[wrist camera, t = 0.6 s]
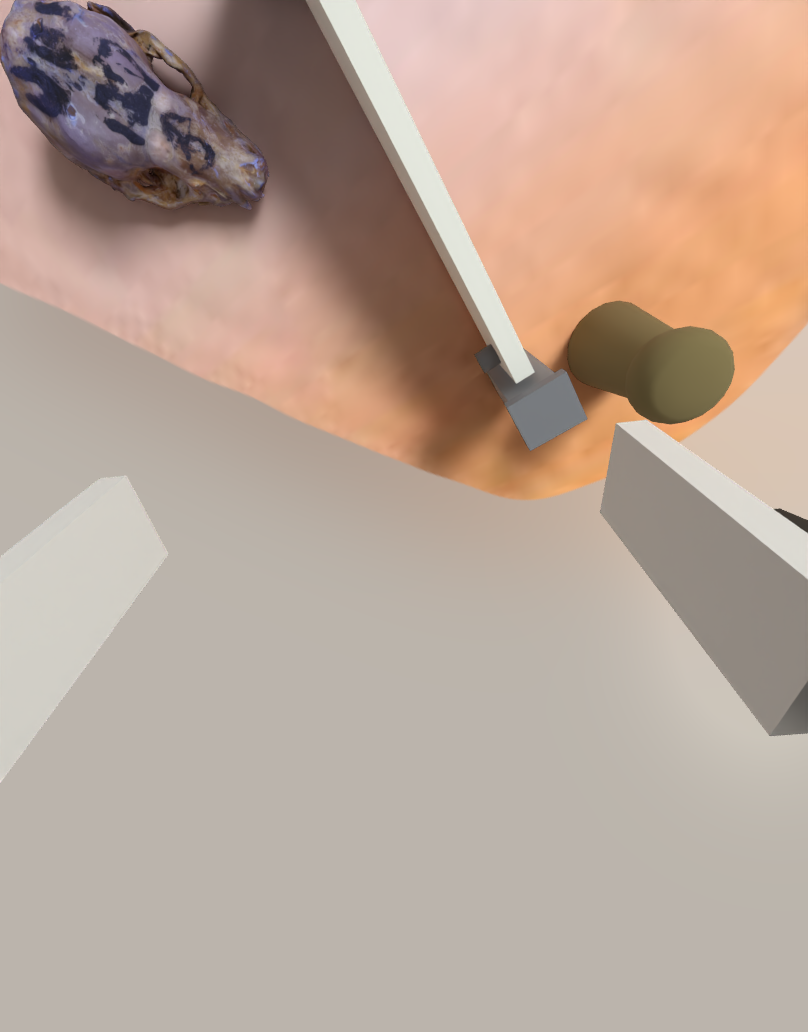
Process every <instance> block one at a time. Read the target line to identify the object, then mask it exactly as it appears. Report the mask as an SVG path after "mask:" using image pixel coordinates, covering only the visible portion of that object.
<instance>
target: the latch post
mask: <svg viewBox="0 0 808 1032" xmlns="http://www.w3.org/2000/svg"><path fill="white" fill-rule="evenodd" d="M523 349H524V348H523ZM524 351H525V353H526V355H527V357H528V359H529V361H530V363H531V365H532V368H533V370H534V373H533V374H531V375H530V376H528V377H526V378H525V379H523V380H522V381H520V382H518V383H517V384H516V383H515V382H514V380H513V379H512V378H511V377H510V376H509V375H508V374H507V373H506V371H505V370H504V369H503V368H502V367H501V366H500V365H497V366H496V367H494V368H493V369H491V370H490V371H488V372H487V374H488V376H489V378H490V379H491V381H492V383H493V385H494V387H495V389H496V390H497V392H498V394H499V396H500V398H501V399H502V400H503V402H504V404H505V406H506V408H507V410H508V412H509V414H510V416H511V417H512V419H513V421H514V423H515V425H516V427H517V428H518V430H519V432H520V434H521V436H522V438H523V439H524V441H525V443H526V445H527V447H528V448H529V450H530V451H531V450H533V449H535V448H537V447H538V446H540V445H542V444H544V443H546V442H547V441H549V440H551V439H553V438H555V437H556V436H558V435H560V434H562V433H563V432H565V431H567V430H569V429H571V428H572V427H574V426H576V425H578V424H579V423H581V422H583V421H585V420H587V417H586V415H585V412H584V410H583V408H582V405H581V403H580V401H579V399H578V396H577V394H576V392H575V390H574V387H573V385H572V383H571V381H570V378H569V376H568V374H567V372H566V371H565V370H563V369H560V370H558V371H557V372H555V373H554V372H553V371H552V370H551V369H549V368H548V367H547V366H546V365H544V364H543V363H542V362H540V361H539V360H538V359H537V358H535V357H534V356H533V355H531V354H530V353H529V352H528V351H526V350H525V349H524Z"/></svg>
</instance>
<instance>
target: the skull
mask: <svg viewBox="0 0 808 1032" xmlns="http://www.w3.org/2000/svg"><path fill="white" fill-rule="evenodd" d="M87 6H88V9H85V8H84V7H82V6H80V5H78V4H77V3H74V2H71V1H53V0H15V1H14V3H13V5H12V8H11V11H10V13H9V14H8V16H7V17H6V19H5V21H4V24H3V27H2V30H1V33H0V61H1V64H2V66H3V69H4V71H5V73H6V75H7V77H8V79H9V81H10V83H11V86H12V89H13V92H14V94H15V97H16V99H17V102H18V105H19V106H20V108H21V109H22V110H23V112H24V113H25V114H26V115H27V116H28V117H29V118H30V120H31V121H32V122H33V123H34V124H35V125H36V126H37V127H38V128H39V129H40V130H41V132H42V133H43V134H44V135H45V136H46V138H47V139H48V140H49V141H50V143H51V144H52V145H53V146H54V147H55V148H56V149H58V150H59V151H60V152H61V153H62V154H63V155H64V156H65V157H67V158H68V159H69V160H70V161H72V162H73V163H75V164H76V165H78V166H80V167H81V168H83V169H87V170H88V171H89V172H90V173H91V174H92V175H93V176H94V177H96V178H97V179H99V180H101V181H103V182H104V183H106V184H108V185H110V186H112V188H113V189H114V191H115V189H116V190H118V191H120V192H121V193H123V194H124V195H125V196H126V197H127V198H128V199H129V200H131V201H134V200H144V201H147V202H150V203H152V204H155V205H157V206H160V207H162V208H165V209H169V210H172V209H179V208H182V207H184V206H185V205H187V204H189V203H199V205H212V204H213V205H217V206H220V207H222V206H225V205H228V204H229V205H230V204H231V202H233V203H236V204H239V205H240V206H241V207H244V208H246V209H249V210H251V208H252V206H251V204H250V203H249V202H248V201H247V200H254V201H258V200H259V199H260V198H262V197H264V196H265V195H264V194H262V192H263V189H264V187H265V184H266V181H267V175H268V177H269V171H268V166H267V163H266V161H265V159H264V157H263V155H262V153H261V151H260V150H259V148H258V147H257V146H256V145H255V144H253V143H252V142H251V141H250V140H249V139H248V138H247V137H246V136H245V135H243V134H242V133H241V132H240V131H239V130H238V129H237V127H236V126H235V124H234V123H233V122H232V121H231V120H230V119H229V118H227V117H225V116H224V115H223V114H222V113H221V112H220V111H219V110H218V109H217V107H216V105H215V104H213V103H212V102H211V101H210V100H209V99H208V98H207V96H206V94H205V92H204V90H203V88H202V86H201V83H200V82H199V81H198V80H197V78H196V76H195V75H194V73H193V72H192V70H191V69H190V68H189V67H188V66H187V65H186V64H185V63H184V62H183V61H182V60H181V59H180V58H179V57H178V56H177V55H176V54H174V53H173V52H172V51H171V50H169V49H168V48H167V47H166V46H164V45H163V44H162V43H161V42H160V41H159V40H158V39H157V38H156V37H155V36H154V35H153V34H151V33H150V32H148V31H145V30H137V31H135V30H134V29H133V28H132V26H131V25H129V24H128V23H127V22H126V21H125V20H123V19H122V18H121V17H120V16H119V15H118V14H117V13H116V12H115V11H114V10H112V9H111V8H109V7H107V6H103V5H99V4H96V3H93V2H90V1H88V2H87ZM153 57H155V58H158V59H163V60H164V62H165V63H166V64H167V65H169V66H170V67H172V68H174V69H176V70H177V71H178V72H180V73H182V74H183V75H184V77H185V78H186V79H187V80H188V81H189V83H190V84H191V86H192V90H191V96H190V98H188V97H187V96H186V95H183V94H180V93H177V92H174V91H172V90H170V89H168V88H167V87H166V86H165V85H164V84H163V83H162V82H161V81H160V79H159V78H158V77H157V76H156V75H155V73H154V71H153V67H152V64H151V63H152V60H153ZM150 170H152V173H149V171H150ZM138 180H142V181H143V182H145V183H147V184H151V185H150V186H147V187H145V186H143V185H141V183H139V182H138Z"/></svg>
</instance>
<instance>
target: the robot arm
mask: <svg viewBox="0 0 808 1032" xmlns="http://www.w3.org/2000/svg"><path fill="white" fill-rule="evenodd" d="M600 513H601V514H602V515H603V517H604V518H605V520H606V521H607V522H608V524H609V525H610V526H611V528H612V529H613V530H614V532H615V533H616V534H617V535H618V537H619V538H620V539H621V541H622V542H623V543H624V545H625V546H626V547H627V549H628V550H629V551H630V552H631V554H632V555H633V557H634V558H635V559H636V561H637V562H638V563H639V564H640V566H641V567H642V568H643V570H644V571H645V572H646V574H647V575H648V576H649V578H650V579H651V580H652V581H653V583H654V584H655V586H656V587H657V588H658V589H659V591H660V592H661V593H662V595H663V596H664V597H665V599H666V600H667V601H668V603H669V604H670V605H671V607H672V608H673V609H674V611H675V612H676V613H677V614H678V616H679V617H680V618H681V620H682V621H683V622H684V624H685V625H686V626H687V628H688V629H689V630H690V631H691V633H692V634H693V635H694V637H695V638H696V640H697V641H698V642H699V644H700V645H701V646H702V647H703V649H704V650H705V651H706V653H707V654H708V655H709V657H710V658H711V659H712V661H713V662H714V663H715V664H716V666H717V667H718V669H719V670H720V671H721V672H722V674H723V675H724V676H725V678H726V679H727V680H728V682H729V683H730V684H731V686H732V687H733V688H734V690H735V691H736V692H737V694H738V695H739V696H740V698H741V699H742V700H743V701H744V702H745V704H746V705H747V707H748V708H749V709H750V711H751V712H752V713H753V715H754V716H755V717H756V719H757V720H758V721H759V723H760V724H761V725H762V727H763V728H764V729H765V730H766V732H767V733H768V734H769V736H776V735H791V734H805V733H808V520H806V519H803V518H801V517H799V516H796V515H794V514H791V513H789V512H787V511H784V510H782V509H772V508H771V507H770V506H768V505H767V504H765V503H764V502H762V501H761V500H760V499H758V498H757V497H755V496H754V495H752V494H751V493H750V492H748V491H747V490H745V489H744V488H742V487H741V486H740V485H738V484H737V483H735V482H734V481H732V480H731V479H730V478H728V477H727V476H725V475H724V474H723V473H721V472H720V471H718V470H717V469H715V468H714V467H713V466H711V465H710V464H708V463H707V462H705V461H704V460H703V459H701V458H700V457H698V456H697V455H696V454H694V453H692V452H691V451H690V450H688V449H687V448H685V447H684V446H683V445H681V444H680V443H678V442H677V441H676V440H674V439H673V438H671V437H670V436H668V435H667V434H666V433H664V432H663V431H661V430H660V429H659V428H657V427H656V426H654V425H653V424H651V423H650V422H649V421H647V420H641V421H632V422H623V423H616V426H615V432H614V438H613V443H612V449H611V454H610V460H609V465H608V471H607V477H606V482H605V488H604V493H603V499H602V504H601V510H600ZM167 556H168V552H167V550H166V549H165V547H164V545H163V543H162V541H161V539H160V537H159V535H158V534H157V532H156V530H155V528H154V526H153V524H152V522H151V520H150V519H149V517H148V515H147V513H146V511H145V509H144V507H143V506H142V504H141V502H140V500H139V498H138V496H137V494H136V492H135V491H134V489H133V487H132V485H131V483H130V481H129V479H128V477H127V476H117V477H109V478H99V479H98V480H97V481H96V482H94V483H93V484H92V485H91V486H89V487H88V488H87V489H86V490H84V491H83V492H82V493H81V494H79V495H78V496H77V497H75V498H74V499H73V500H72V501H70V502H69V503H68V504H67V505H65V506H64V507H63V508H61V509H60V510H59V511H58V512H56V513H55V514H54V515H52V516H51V517H50V518H49V519H47V520H46V521H45V522H44V523H42V524H41V525H40V526H39V527H37V528H36V529H35V530H33V531H32V532H31V533H30V534H28V535H27V536H26V537H25V538H23V539H22V540H21V541H19V542H18V543H17V544H16V545H14V546H13V547H12V548H11V549H9V550H8V551H7V552H6V553H4V554H3V555H2V556H0V783H1V781H2V780H3V779H4V777H5V776H6V775H7V773H8V772H9V770H10V769H11V768H12V766H13V765H14V764H15V762H16V761H17V760H18V758H19V757H20V756H21V754H22V753H23V752H24V750H25V749H26V747H27V746H28V745H29V743H30V742H31V741H32V739H33V738H34V737H35V735H36V734H37V733H38V731H39V730H40V728H41V727H42V726H43V724H44V723H45V722H46V720H47V719H48V718H49V716H50V715H51V714H52V712H53V710H54V709H55V708H56V707H57V705H58V704H59V703H60V701H61V700H62V698H63V697H64V696H65V695H66V693H67V692H68V690H69V689H70V688H71V686H72V685H73V684H74V682H75V681H76V680H77V678H78V677H79V675H80V674H81V673H82V671H83V670H84V669H85V667H86V666H87V665H88V663H89V662H90V661H91V659H92V658H93V656H94V655H95V654H96V652H97V651H98V650H99V648H100V647H101V646H102V644H103V643H104V642H105V640H106V639H107V637H108V636H109V635H110V633H111V632H112V631H113V629H114V628H115V626H116V625H117V624H118V622H119V621H120V620H121V618H122V617H123V616H124V614H125V613H126V612H127V610H128V609H129V607H130V606H131V605H132V604H133V602H134V601H135V599H136V598H137V597H138V595H139V594H140V593H141V591H142V590H143V589H144V587H145V586H146V584H147V583H148V582H149V580H150V579H151V578H152V576H153V575H154V574H155V572H156V571H157V570H158V568H159V567H160V565H161V564H162V563H163V561H164V560H165V559H166V557H167Z"/></svg>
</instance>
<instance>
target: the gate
mask: <svg viewBox="0 0 808 1032" xmlns="http://www.w3.org/2000/svg"><path fill="white" fill-rule="evenodd" d="M305 1H306V2H307V4H308V6H309V8H310V10H311V12H312V14H313V16H314V18H315V20H316V21H317V23H318V25H319V27H320V29H321V31H322V33H323V35H324V37H325V39H326V40H327V42H328V44H329V46H330V48H331V50H332V52H333V54H334V56H335V58H336V60H337V61H338V63H339V65H340V67H341V69H342V71H343V73H344V75H345V77H346V79H347V80H348V82H349V84H350V86H351V88H352V90H353V92H354V94H355V96H356V98H357V99H358V101H359V103H360V105H361V107H362V109H363V111H364V113H365V115H366V117H367V118H368V120H369V122H370V124H371V126H372V128H373V130H374V132H375V134H376V136H377V138H378V139H379V141H380V143H381V145H382V147H383V149H384V151H385V153H386V155H387V157H388V158H389V160H390V162H391V164H392V166H393V168H394V170H395V172H396V174H397V176H398V177H399V179H400V181H401V183H402V185H403V187H404V189H405V191H406V193H407V195H408V196H409V198H410V200H411V202H412V204H413V206H414V208H415V210H416V212H417V214H418V216H419V217H420V219H421V221H422V223H423V225H424V227H425V229H426V231H427V233H428V235H429V236H430V238H431V240H432V242H433V244H434V246H435V248H436V250H437V252H438V254H439V255H440V257H441V259H442V261H443V263H444V265H445V267H446V269H447V271H448V273H449V274H450V276H451V278H452V280H453V282H454V284H455V286H456V288H457V290H458V292H459V294H460V295H461V297H462V299H463V301H464V303H465V305H466V307H467V309H468V311H469V313H470V314H471V316H472V318H473V320H474V322H475V324H476V326H477V328H478V330H479V332H480V333H481V335H482V337H483V339H484V341H485V343H486V345H487V347H485V348H484V349H482V350H481V351H479V352H478V353H476V354H474V355H475V357H476V359H477V361H478V363H479V364H480V366H481V368H482V370H483V371H484V373H486V372H488V371H490V370H491V369H493V368H494V367H496V366H497V365H500V366H501V367H502V368H503V369H504V370H505V371H506V373H507V374H508V375H509V376H510V377H511V378H512V379H513V380H514V382H515V383H516V384H517V383H518V382H520V381H522V380H523V379H525V378H526V377H528V376H530V375H531V374H533V373H534V370H533V368H532V365H531V363H530V361H529V359H528V357H527V355H526V353H525V351H524V349H523V347H522V345H521V343H520V341H519V339H518V336H517V334H516V332H515V330H514V328H513V326H512V324H511V322H510V320H509V318H508V316H507V314H506V312H505V310H504V307H503V305H502V303H501V301H500V299H499V297H498V295H497V293H496V291H495V289H494V287H493V285H492V283H491V281H490V278H489V276H488V274H487V272H486V270H485V268H484V266H483V264H482V262H481V260H480V258H479V256H478V254H477V252H476V249H475V247H474V245H473V243H472V241H471V239H470V237H469V235H468V233H467V231H466V229H465V227H464V225H463V223H462V220H461V218H460V216H459V214H458V212H457V210H456V208H455V206H454V204H453V202H452V200H451V198H450V196H449V194H448V191H447V189H446V187H445V185H444V183H443V181H442V179H441V177H440V175H439V173H438V171H437V169H436V167H435V165H434V162H433V160H432V158H431V156H430V154H429V152H428V150H427V148H426V146H425V144H424V142H423V140H422V138H421V136H420V133H419V131H418V129H417V127H416V125H415V123H414V121H413V119H412V117H411V115H410V113H409V111H408V109H407V107H406V104H405V102H404V100H403V98H402V96H401V94H400V92H399V90H398V88H397V86H396V84H395V82H394V80H393V78H392V75H391V73H390V71H389V69H388V67H387V65H386V63H385V61H384V59H383V57H382V55H381V53H380V51H379V49H378V46H377V44H376V42H375V40H374V38H373V36H372V34H371V32H370V30H369V28H368V26H367V24H366V22H365V20H364V17H363V15H362V13H361V11H360V9H359V7H358V5H357V3H356V1H355V0H305Z"/></svg>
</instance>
